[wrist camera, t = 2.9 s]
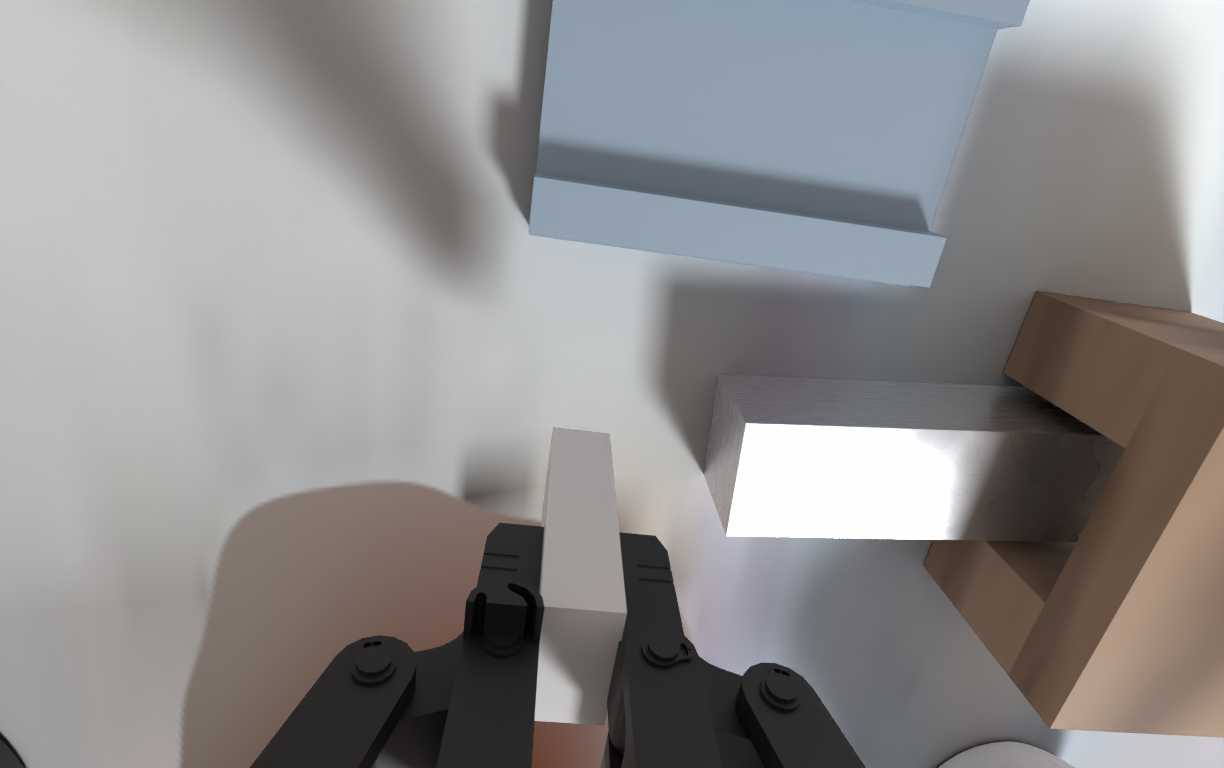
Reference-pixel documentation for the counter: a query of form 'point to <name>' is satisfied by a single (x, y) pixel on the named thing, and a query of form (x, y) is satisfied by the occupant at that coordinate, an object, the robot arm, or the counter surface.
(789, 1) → the cradle
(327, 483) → the counter surface
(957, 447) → the shaft
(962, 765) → the mug
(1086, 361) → the bearing block
